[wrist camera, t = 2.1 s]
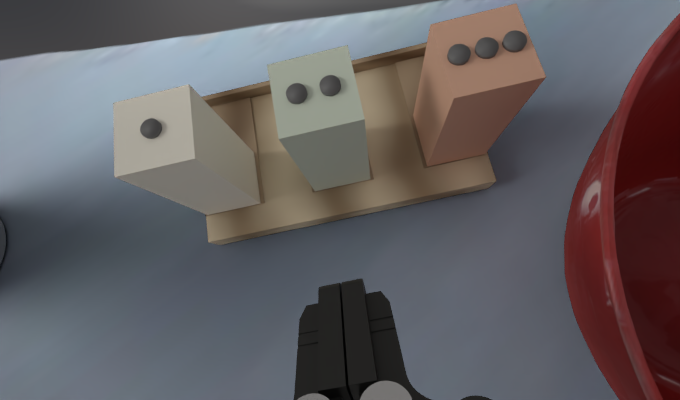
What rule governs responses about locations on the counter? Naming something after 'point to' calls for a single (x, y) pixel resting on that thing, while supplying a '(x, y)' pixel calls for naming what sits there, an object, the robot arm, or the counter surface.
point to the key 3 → (473, 82)
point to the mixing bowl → (633, 234)
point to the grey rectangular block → (183, 152)
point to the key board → (383, 153)
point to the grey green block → (321, 117)
